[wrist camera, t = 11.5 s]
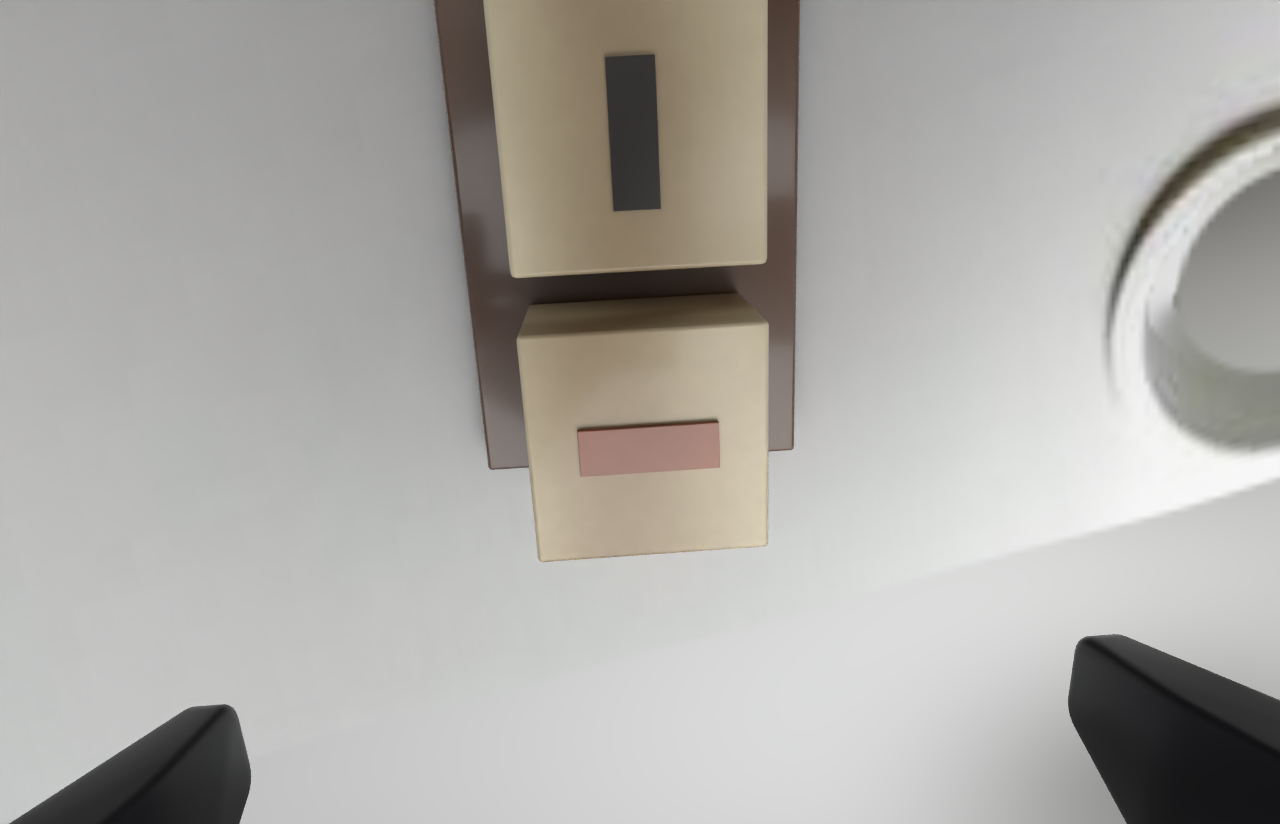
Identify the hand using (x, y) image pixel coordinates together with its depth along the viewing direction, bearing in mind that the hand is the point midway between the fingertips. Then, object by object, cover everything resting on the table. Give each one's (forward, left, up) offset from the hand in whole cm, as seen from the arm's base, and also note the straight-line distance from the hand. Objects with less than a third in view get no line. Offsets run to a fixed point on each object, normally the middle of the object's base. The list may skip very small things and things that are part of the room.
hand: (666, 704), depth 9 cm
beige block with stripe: (0, 0, -10) cm, 10 cm away
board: (0, -6, -11) cm, 13 cm away
